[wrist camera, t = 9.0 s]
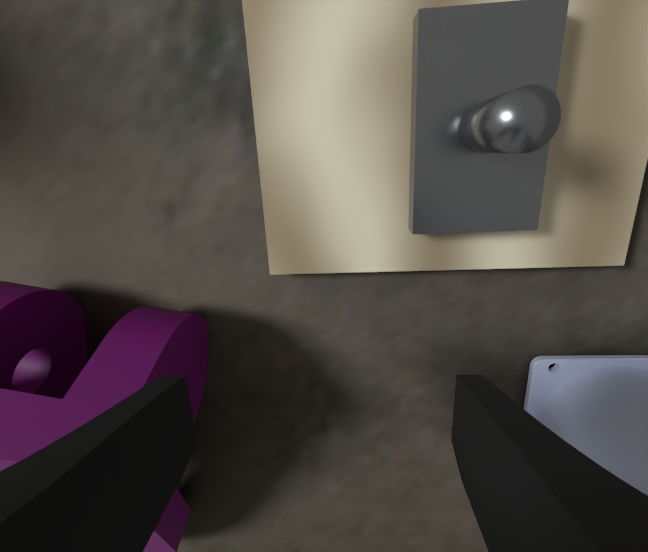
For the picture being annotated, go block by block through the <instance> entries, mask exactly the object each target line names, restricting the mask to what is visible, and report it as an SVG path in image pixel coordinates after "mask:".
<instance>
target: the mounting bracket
mask: <svg viewBox="0 0 648 552" xmlns="http://www.w3.org/2000/svg"><path fill="white" fill-rule="evenodd" d="M208 347H209V330H208V326H207V323H206V321H205V320H204V318H203V317H202V316H200V315H197V314H191V313H186V312H180V311H174V310H168V309H162V308H156V307H151V306H142V307H139V308H136V309H134V310H132V311H130V312H129V313H127V314H126V315H125V316H124V317H122V318H121V319H120V320H119V321H118V322H117V323H116V324H115V325H114V326H113V328H112V329H111V330H110V331H109V332H108V334H107V335H106V336H105V338H104V339H103V341H102V342H101V343H100V345H99V346H98V348H97V349H96V351H95V352H94V354H93V355H92V357H91V358H90V360H89V361H88V363H87V364H86V360H87V356H88V353H87V338H86V324H85V313H84V311H83V309H82V307H81V306H80V304H79V303H78V302H77V301H76V300H75V299H74V298H73V297H72V296H70V295H68V294H66V293H64V292H61V291H58V290H52V289H46V288H40V287H34V286H28V285H23V284H17V283H11V282H4V281H0V471H2V470H4V469H6V468H7V467H9V466H11V465H13V464H15V463H17V462H19V461H21V460H23V459H24V458H26V457H28V456H30V455H32V454H34V453H35V452H37V451H39V450H41V449H42V448H44V447H46V446H48V445H49V444H51V443H53V442H54V441H56V440H58V439H60V438H61V437H63V436H65V435H66V434H68V433H70V432H71V431H73V430H75V429H77V428H78V427H80V426H82V425H83V424H85V423H87V422H88V421H90V420H92V419H93V418H95V417H96V416H98V415H100V414H101V413H103V412H104V411H106V410H108V409H109V408H111V407H112V406H114V405H116V404H117V403H119V402H120V401H122V400H124V399H125V398H127V397H128V396H130V395H132V394H133V393H135V392H136V391H138V390H140V389H141V388H143V387H145V386H146V385H148V384H150V383H151V382H153V381H155V380H157V379H159V378H161V377H162V376H185V379H186V384H187V389H188V394H189V399H190V404H191V409H192V414H193V419H194V423H195V420H196V417H197V414H198V411H199V407H200V404H201V400H202V396H203V392H204V388H205V383H206V378H207V365H208ZM85 365H86V366H85ZM189 514H190V509H189V507H188V505H187V504H186V502H185V500H184V499H183V497H182V496H181V494H180V492H179V491H178V489H177V487H176V489H175V491H174V493H173V495H172V497H171V499H170V501H169V503H168V505H167V507H166V509H165V511H164V513H163V514H162V516H161V518H160V520H159V522H158V524H157V526H156V528H155V530H154V532H153V534H152V535H151V537H150V539H149V541H148V543H147V545H146V547H145V549H144V551H143V552H177V549H178V546H179V543H180V540H181V537H182V534H183V531H184V528H185V525H186V522H187V520H188V517H189Z"/></svg>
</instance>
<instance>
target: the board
mask: <svg viewBox="0 0 648 552" xmlns="http://www.w3.org/2000/svg"><path fill="white" fill-rule="evenodd" d="M505 1H517V0H242V5H243V15H244V24H245V34H246V44H247V54H248V63H249V73H250V83H251V93H252V103H253V112H254V122H255V132H256V142H257V152H258V161H259V171H260V181H261V191H262V200H263V210H264V220H265V230H266V240H267V249H268V259H269V269H270V275H277V274H316V273H354V272H393V271H432V270H471V269H509V268H548V267H587V266H624V264H625V259H626V255H627V250H628V246H629V241H630V237H631V232H632V228H633V223H634V218H635V214H636V209H637V205H638V200H639V196H640V191H641V187H642V182H643V178H644V173H645V168H646V164H647V159H648V0H569V4H568V11H567V19H566V26H565V33H564V40H563V48H562V55H561V62H560V70H559V77H558V84H557V92H556V97H557V98H558V100H559V103H560V107H561V119H560V123H559V126H558V129H557V131H556V133H555V134H554V136H553V137H552V138H551V140H550V143H549V150H548V157H547V165H546V172H545V179H544V187H543V194H542V201H541V208H540V216H539V223H538V230H529V231H499V232H470V233H440V234H412V233H411V232H410V230H409V229H408V220H409V177H410V134H411V91H412V49H413V20H414V18H415V15H416V13H417V11H418V9H421V8H433V7H445V6H457V5H469V4H481V3H493V2H505Z"/></svg>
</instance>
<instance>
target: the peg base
mask: <svg viewBox="0 0 648 552" xmlns="http://www.w3.org/2000/svg"><path fill="white" fill-rule="evenodd" d="M568 4H569V0H517V1H505V2H493V3H481V4H469V5H457V6H445V7H433V8H421V9H418V11H417V13H416V15H415V18H414V20H413V49H412V91H411V134H410V177H409V220H408V229H409V230H410V232H411V233H412V234H440V233H470V232H499V231H529V230H538V223H539V216H540V208H541V201H542V194H543V187H544V179H545V172H546V165H547V157H548V150H549V143H550V140H551V138H552V137H553V136H554V134H555V133H556V131H557V129H558V126H559V123H560V119H561V107H560V103H559V100H558V98H557V97H556V92H557V84H558V77H559V70H560V62H561V55H562V48H563V40H564V33H565V26H566V19H567V11H568Z"/></svg>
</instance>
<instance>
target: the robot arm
mask: <svg viewBox="0 0 648 552" xmlns="http://www.w3.org/2000/svg"><path fill="white" fill-rule="evenodd" d="M554 363H555V365H554V366H553V367H552V368H549V366H550V365H551V364H554ZM196 438H197V434H196V429H195V424H194V419H193V414H192V409H191V404H190V399H189V394H188V389H187V384H186V379H185V376H162V377H161V378H159V379H157V380H155V381H153V382H151V383H150V384H148V385H146V386H145V387H143V388H141V389H140V390H138V391H136V392H135V393H133V394H132V395H130V396H128V397H127V398H125V399H124V400H122V401H120V402H119V403H117V404H116V405H114V406H112V407H111V408H109V409H108V410H106V411H104V412H103V413H101V414H100V415H98V416H96V417H95V418H93V419H92V420H90V421H88V422H87V423H85V424H83V425H82V426H80V427H78V428H77V429H75V430H73V431H71V432H70V433H68V434H66V435H65V436H63V437H61V438H60V439H58V440H56V441H54V442H53V443H51V444H49V445H48V446H46V447H44V448H42V449H41V450H39V451H37V452H35V453H34V454H32V455H30V456H28V457H26V458H24V459H23V460H21V461H19V462H17V463H15V464H13V465H11V466H9V467H7V468H6V469H4V470H2V471H0V552H143V551H144V549H145V547H146V545H147V543H148V541H149V539H150V537H151V535H152V534H153V532H154V530H155V528H156V526H157V524H158V522H159V520H160V518H161V516H162V514H163V513H164V511H165V509H166V507H167V505H168V503H169V501H170V499H171V497H172V495H173V493H174V491H175V489H176V487H177V485H178V484H179V482H180V480H181V478H182V476H183V473H184V471H185V468H186V466H187V463H188V461H189V458H190V455H191V453H192V450H193V447H194V444H195V441H196ZM452 444H453V448H454V452H455V456H456V460H457V464H458V468H459V472H460V475H461V479H462V482H463V485H464V487H465V490H466V493H467V496H468V498H469V501H470V504H471V506H472V509H473V512H474V514H475V517H476V519H477V522H478V525H479V527H480V530H481V532H482V535H483V538H484V540H485V543H486V546H487V548H488V551H489V552H648V355H580V356H537V357H535V358H534V359H533V360H532V361H531V363H530V368H529V375H528V382H527V389H526V395H525V402H524V409H523V408H522V407H520V406H519V405H518V404H517V403H516V402H514V401H513V400H512V399H511V398H509V397H508V396H507V395H506V394H504V393H503V392H502V391H501V390H499V389H498V388H497V387H496V386H495V385H493V384H492V383H491V382H490V381H488V380H487V379H486V378H484V377H483V376H482V375H456V388H455V401H454V415H453V428H452Z"/></svg>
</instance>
